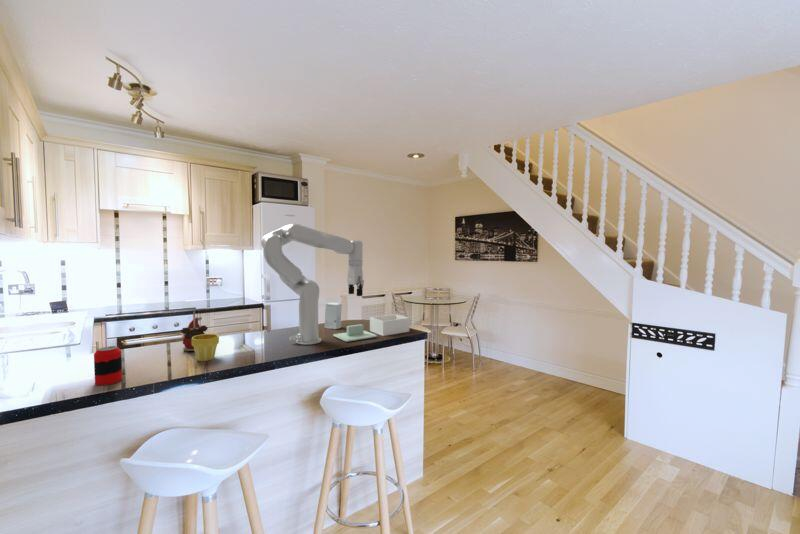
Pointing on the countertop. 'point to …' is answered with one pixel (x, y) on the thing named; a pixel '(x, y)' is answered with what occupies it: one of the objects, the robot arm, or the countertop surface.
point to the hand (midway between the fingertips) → (355, 294)
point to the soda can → (107, 365)
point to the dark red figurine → (192, 332)
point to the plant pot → (205, 346)
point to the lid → (355, 333)
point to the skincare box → (333, 315)
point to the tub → (389, 324)
